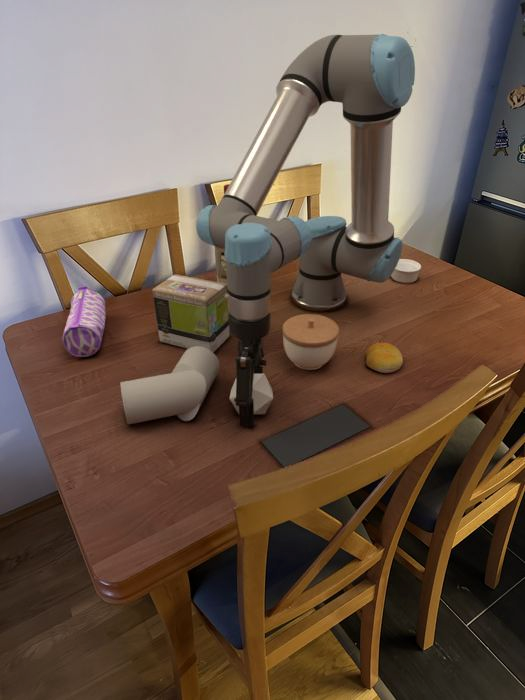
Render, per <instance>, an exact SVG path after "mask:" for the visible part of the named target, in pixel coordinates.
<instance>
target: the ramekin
mask: <svg viewBox="0 0 525 700" xmlns="http://www.w3.org/2000/svg"><path fill="white" fill-rule="evenodd" d="M421 269H422V265H421V264H420V262H418V261H415V260H413V259H408V258H407V259H406V258H400V259H399V261H398V264H397V266H396V268H395V270H394V271H393V273H392V275H391V276H390V277H391V279H392V280H394V281H395V282H398V283H401V284H410V283H414V282H416V281H418V278H419V274H420V271H421Z"/></svg>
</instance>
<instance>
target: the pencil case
mask: <svg viewBox="0 0 525 700" xmlns="http://www.w3.org/2000/svg"><path fill="white" fill-rule="evenodd" d="M77 289H78V291H76V292H75V293H74V295H73V296H72V297H71V300H70V301H69V302H68V304H69V307H70V310H69V314H68V316H67V320H66V323H65V327H64V330H63V332H62V333H63V335H62V344H63V347H64V349H65V350H66V351H67V353H69V354H70V355H71V356H73V357H76V358H89V357H91V356H93V355H94V354H96V353H97V352H98V351H99V350H100V348H101V345H102V342H103V336H104V332H105V328H106V318H107V314H106V313H107V311H106V310H107V309H106V300H105V299H104V297H103V296H102V295H101V293H100V294H99V293H98V292H97V291H94V290H91V289H89V288H88V286H87V285H83V286H78V287H77Z"/></svg>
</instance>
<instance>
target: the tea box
mask: <svg viewBox="0 0 525 700" xmlns="http://www.w3.org/2000/svg"><path fill="white" fill-rule="evenodd" d="M151 291H152V298H153V305H154V310H155V311H154V312H155V318H156V325H157V326H156V327H157V332H158V338H159V342H161V343H165V344H168V345H172V346H176V347H179V348H184V349H186V350H187V349H189V348H191V347H195V346H199V347H204V348H206V349H208V350H210V351H211V352H213V353H214V352H216V351H217V350H218V348H220V347H221V345H222V344H224V342H225V341H226V340H227V339H228V338H229V337H230V331H229V310H228V299H225V294H227V285H226V284H224V283H219V282H217V281H213V280H207V279H203V278H197V277H192V276H187V275H180V274H177V273H173V275H171V276H170V277H168V278H167V279H166V280H164V281H162V282H161V283H160V284H158V285H156V286H154V287H153V288H152V289H151Z"/></svg>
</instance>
